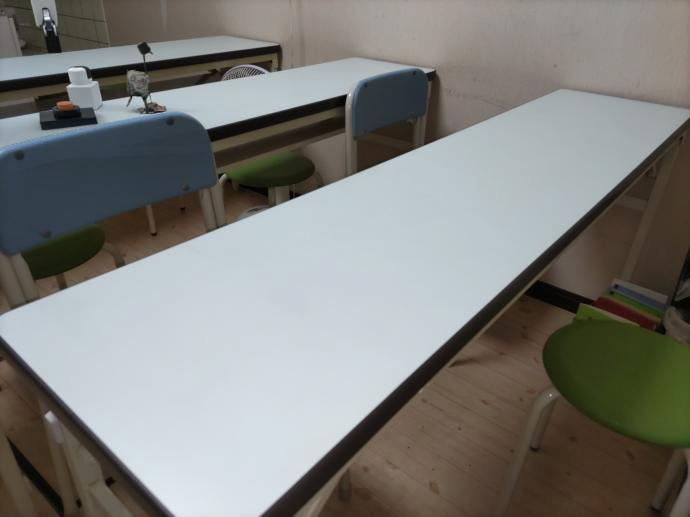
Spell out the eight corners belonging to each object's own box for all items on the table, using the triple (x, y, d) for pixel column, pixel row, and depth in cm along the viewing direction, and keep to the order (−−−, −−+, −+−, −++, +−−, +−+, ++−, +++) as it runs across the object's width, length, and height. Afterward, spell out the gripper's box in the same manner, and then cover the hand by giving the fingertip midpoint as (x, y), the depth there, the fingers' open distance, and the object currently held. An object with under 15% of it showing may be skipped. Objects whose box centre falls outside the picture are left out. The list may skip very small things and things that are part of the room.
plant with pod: (131, 108, 159) (117, 39, 148) (169, 107, 160) (157, 39, 150) (125, 116, 152) (110, 44, 142) (165, 115, 153) (152, 43, 143)
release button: (58, 111, 141) (56, 105, 140) (57, 108, 144) (56, 101, 143) (74, 110, 142) (73, 104, 141) (73, 106, 145) (72, 100, 144)
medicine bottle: (79, 104, 160) (69, 64, 154) (103, 104, 161) (94, 64, 155) (72, 110, 154) (61, 69, 148) (96, 110, 155) (86, 69, 149)
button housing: (41, 129, 138) (37, 115, 136) (41, 119, 146) (37, 105, 144) (97, 124, 144) (94, 110, 141) (94, 114, 152) (91, 101, 150)
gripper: (21, -27, 131) (38, 44, 139) (19, -23, 118) (38, 55, 126) (54, -26, 134) (68, 44, 143) (56, -22, 121) (72, 55, 130)
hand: (54, 49), depth 134 cm, fingers open, 9 cm apart
